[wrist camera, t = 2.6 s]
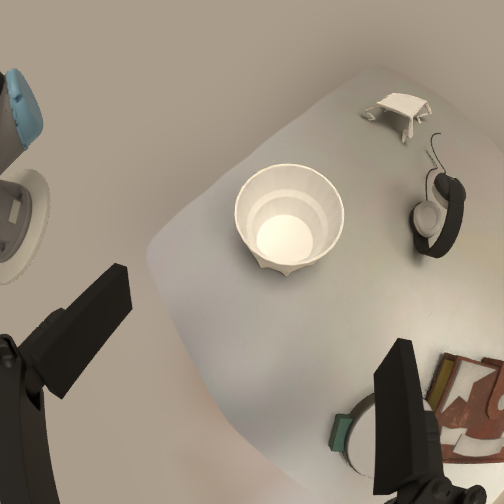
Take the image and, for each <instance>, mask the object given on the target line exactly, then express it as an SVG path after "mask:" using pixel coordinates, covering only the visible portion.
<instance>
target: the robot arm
mask: <svg viewBox="0 0 504 504" xmlns="http://www.w3.org/2000/svg"><path fill="white" fill-rule="evenodd" d="M42 129H43V118H42V115H41V112H40V109H39V106H38V104H37V101H36V99H35V97H34V95H33V93H32V90H31V89H30V87H29V85H28V83H27V81H26V80H25V78H24V76H23V75H22V74H21V72H20V71H18V70H17V69H15V68H14V69H11V70H10V71H7V72H6V74H5V75H3V74H2V73H1V72H0V175H1V174H2V173H3V172H4V171H5V170H6V169H7V168H8V167H9V166H10V165H11V164H12V163H13V162H14V160H16V158H18V157H19V156H20V155H21V154H22V153H23V152H24V151H26V150H27V149H28V146H29V145H30V144H31V143H32V142H33V141H34V140H35V139H36V138H37V137H38V136H39V135H40V134H41V132H42ZM31 215H32V198H31V195H30V193H29V191H28V190H27V189H26V188H25V187H23V186H22V185H20V184H18V183H15V182H9V181H4V180H0V263H3V262H6V261H8V260H9V259H10V258H11V257H12V256H13V255H14V254H15V253H16V252H17V251H18V249H19V248H20V246H21V244H22V242H23V240H24V238H25V236H26V233H27V231H28V228H29V224H30V220H31ZM131 310H132V302H131V296H130V287H129V280H128V271H127V267H126V266H123V265H120V264H117V263H114V264H113V265H112V266H111V267H110V268H109V269H108V270H107V271H105V272H104V273H103V274H102V275H101V276H100V277H99V278H98V279H97V280H96V281H95V282H94V283H93V284H92V285H91V286H90V287H89V288H87V289H86V290H85V291H84V292H83V293H82V294H81V295H80V296H79V297H78V298H77V299H76V300H75V301H74V302H73V303H72V304H71V305H70V306H69V307H68V308H67V309H66V310H65V309H62V308H59V309H58V310H56V311H54V312H52V313H51V314H50V315H49V316H48V317H47V318H46V319H45V320H44V322H42V323H41V324H40V325H39V327H37V328H36V329H35V330H34V331H33V332H32V333H31V334H30V335H29V336H28V337H27V338H26V340H25V341H23V343H22V344H21V345H20V346H19V347H18V348H17V346H16V344H15V342H14V340H13V339H12V337H11V336H9V335H8V334H1V335H0V502H1V504H60V501H59V497H58V494H57V489H56V485H55V480H54V476H53V470H52V465H51V459H50V453H49V446H48V439H47V430H46V420H45V408H44V392H43V389H42V387H43V386H44V385H46V386H47V388H48V389H49V391H50V392H51V393H53V394H54V395H56V396H57V397H59V398H60V399H63V397H64V396H65V395H66V393H67V392H68V391H69V389H70V388H71V386H72V385H73V384H74V382H75V381H76V380H77V378H78V377H79V376H80V374H81V373H82V372H83V370H84V369H85V368H86V367H87V365H88V364H89V363H90V361H91V360H92V359H93V357H94V356H95V355H96V354H97V352H98V351H99V350H100V348H101V347H102V346H103V345H104V343H105V342H106V341H107V339H108V338H109V337H110V336H111V334H112V333H113V332H114V331H115V329H116V328H117V327H118V326H119V325H120V323H121V322H122V321H123V320H124V318H125V317H126V316H127V315H128V313H129V312H130V311H131ZM374 392H375V470H374V488H373V495H390V494H392V493H394V492H396V491H397V497H395V498H393V499H391V500H388V501H387V502H385V503H384V504H389V503H390V504H485V503H486V498H487V495H486V491H485V489H484V488H483V487H482V486H481V485H475V486H472V487H470V488H469V489H465V488H461V487H457V486H454V485H452V483H451V481H450V480H449V479H448V478H447V477H445V476H444V471H443V460H442V449H441V442H440V434H439V424H438V420H437V418H436V416H435V414H434V412H433V411H429V410H424V405H423V398H422V392H421V386H420V380H419V374H418V369H417V364H416V359H415V354H414V350H413V345H412V341H411V340H406V339H401V338H397V340H396V342H395V343H394V345H393V346H392V348H391V349H390V351H389V352H388V354H387V355H386V357H385V358H384V360H383V361H382V363H381V364H380V366H379V367H378V369H377V370H376V371H375V373H374Z"/></svg>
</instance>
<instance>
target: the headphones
mask: <svg viewBox="0 0 504 504" xmlns="http://www.w3.org/2000/svg"><path fill="white" fill-rule="evenodd" d="M435 134H441V133H435ZM435 134H433V135H432V137H433V136H434V135H435ZM432 137H431V146H432ZM432 149H433V146H432ZM433 152H434V150H433ZM427 153H428V152H427ZM428 154H429V153H428ZM434 154H435V152H434ZM435 156H436V154H435ZM430 157H431V156H430ZM436 158H437V156H436ZM432 160H433V159H432ZM437 160H438V158H437ZM438 161H439V160H438ZM434 163H435V162H434ZM439 163H440V162H439ZM440 164H441V163H440ZM436 166H437V165H436ZM441 166H442V165H441ZM442 167H443V166H442ZM435 169H437V168H435ZM435 169H431V170H430V171H432V170H435ZM443 169H444V168H443ZM430 171H429V172H428V174H429V173H430ZM444 171H445V169H444ZM428 174H427V177H428ZM427 177H426V201H423V202H420V203H418V204H417V205H416V206H415V207H414V209H413V210H412V213H411V225H412V228H413V230H414V238H415V245H416V248H417V250H418V251H419V253H421V254H424V255H427V256H430V257H433V258H440V257H443V256H444V255H445V254H446V253H447V252H448V251H449V250H450V248H451V247H452V245H453V244H454V242H455V240H456V238H457V236H458V233H459V230H460V227H461V223H462V218H463V211H464V201H465V199H466V192H465V189H464V187H463V185H462V184H461V183H460V181H459V180H458V179H456V178H452V177H450V176H447V175H446V171H445V173H439V174H438V175H437V176H436V178H435V180H434V183H433V184H434V185H433V186H432V191H433V194H434V197H435V198H436V200H437V201H438V202H439V203H440V204H441V205H442V206H443V207H444V208H446V209H447V215H446V219H445V223H444V226H443V228H442V231H441V233H440V235H439V237H438V239H437V241H436V242H435V243H434V245H433V246H432V247H431V248H429V244H428V238H430V237H431V236H433V235H434V234H436V232H437V231H438V230H439V228H440V226H441V220H442V217H441V213H440V210H439V208H438V207H437V205H436V204H435V203H434V202H432V201H428V200H427Z"/></svg>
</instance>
